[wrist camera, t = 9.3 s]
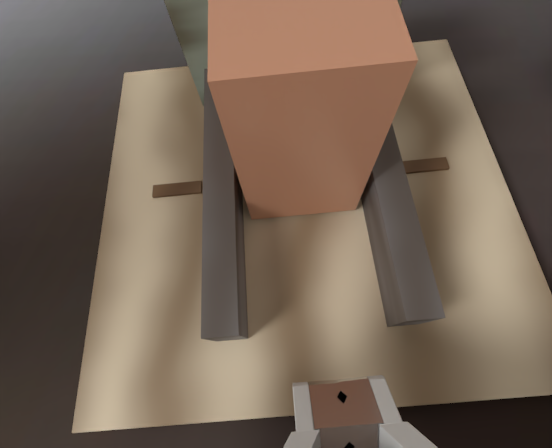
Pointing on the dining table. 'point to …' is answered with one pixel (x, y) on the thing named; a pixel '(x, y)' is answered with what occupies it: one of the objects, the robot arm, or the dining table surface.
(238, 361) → the press rig
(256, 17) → the large salmon-pink box
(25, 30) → the dining table surface
